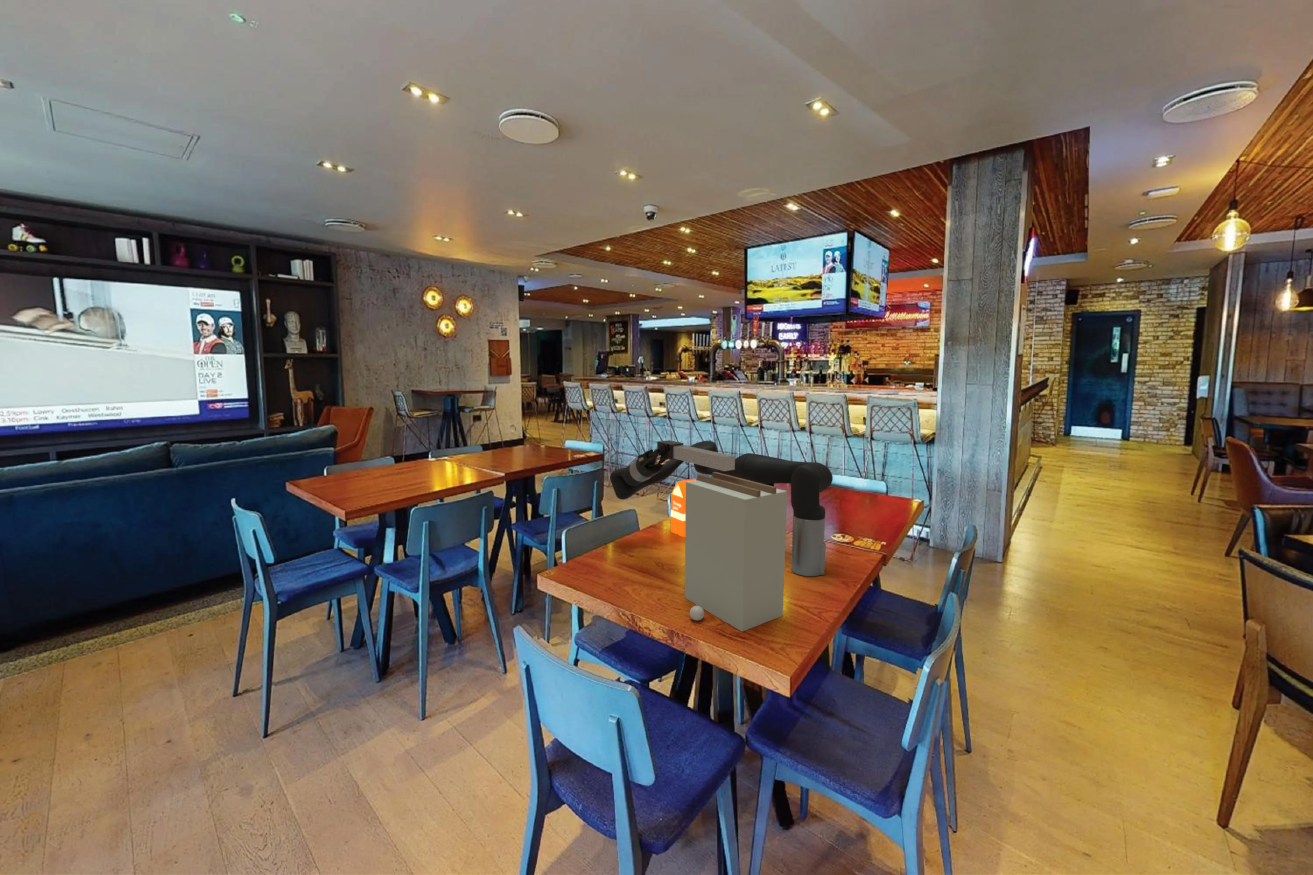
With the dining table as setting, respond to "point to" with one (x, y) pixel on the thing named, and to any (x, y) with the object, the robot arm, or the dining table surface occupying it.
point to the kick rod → (698, 456)
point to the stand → (735, 549)
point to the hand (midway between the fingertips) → (673, 446)
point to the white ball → (696, 613)
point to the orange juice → (679, 508)
